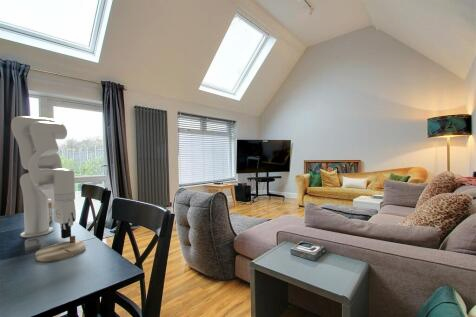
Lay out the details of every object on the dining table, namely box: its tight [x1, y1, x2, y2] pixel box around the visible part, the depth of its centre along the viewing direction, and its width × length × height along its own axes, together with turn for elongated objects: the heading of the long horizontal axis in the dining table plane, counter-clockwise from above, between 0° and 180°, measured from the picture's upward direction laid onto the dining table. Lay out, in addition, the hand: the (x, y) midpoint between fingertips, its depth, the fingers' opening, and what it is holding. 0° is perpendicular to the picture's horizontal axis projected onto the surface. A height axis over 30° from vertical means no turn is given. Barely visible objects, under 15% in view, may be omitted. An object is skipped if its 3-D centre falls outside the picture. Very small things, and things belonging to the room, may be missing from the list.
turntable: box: [34, 235, 86, 262], centre depth 93 cm, size 16×16×4 cm
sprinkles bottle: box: [48, 198, 53, 222], centre depth 137 cm, size 5×5×13 cm
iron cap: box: [24, 236, 42, 253], centre depth 97 cm, size 5×5×5 cm
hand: (66, 237), depth 103 cm, fingers closed
